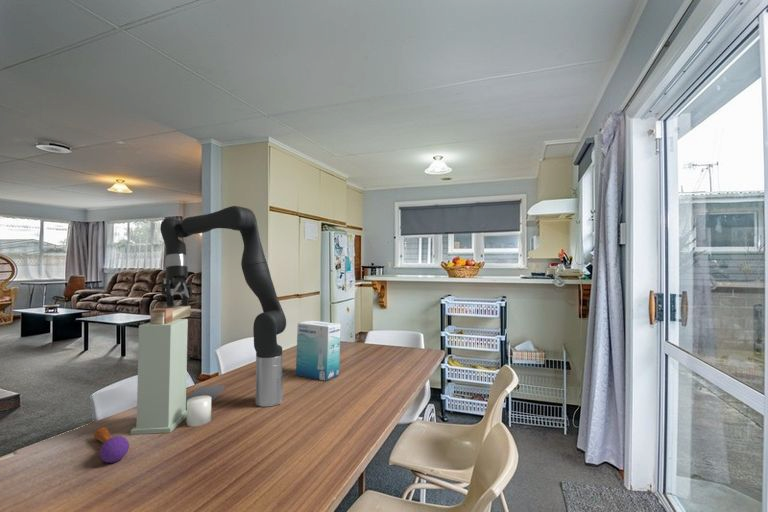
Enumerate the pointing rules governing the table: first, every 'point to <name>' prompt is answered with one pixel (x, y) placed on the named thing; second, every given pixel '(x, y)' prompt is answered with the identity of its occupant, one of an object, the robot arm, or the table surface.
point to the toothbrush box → (318, 350)
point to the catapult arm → (169, 314)
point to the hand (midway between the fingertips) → (178, 307)
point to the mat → (206, 392)
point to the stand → (161, 377)
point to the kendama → (111, 445)
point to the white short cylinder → (198, 410)
